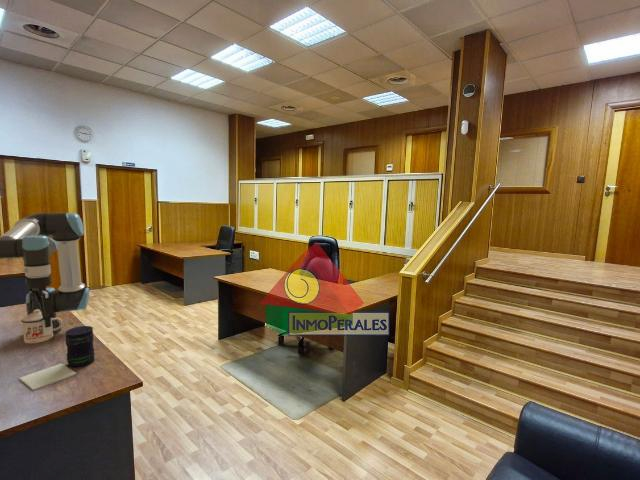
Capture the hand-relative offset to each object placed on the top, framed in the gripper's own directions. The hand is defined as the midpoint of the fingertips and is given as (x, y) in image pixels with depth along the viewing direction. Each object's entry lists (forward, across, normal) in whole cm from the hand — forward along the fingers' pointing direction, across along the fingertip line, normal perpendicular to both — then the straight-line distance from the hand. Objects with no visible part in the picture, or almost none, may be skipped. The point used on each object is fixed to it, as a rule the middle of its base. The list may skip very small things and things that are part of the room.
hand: (42, 331), depth 128 cm
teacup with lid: (+3, +1, 0) cm, 3 cm away
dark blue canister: (+20, -3, +14) cm, 24 cm away
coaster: (+20, -1, +1) cm, 20 cm away
